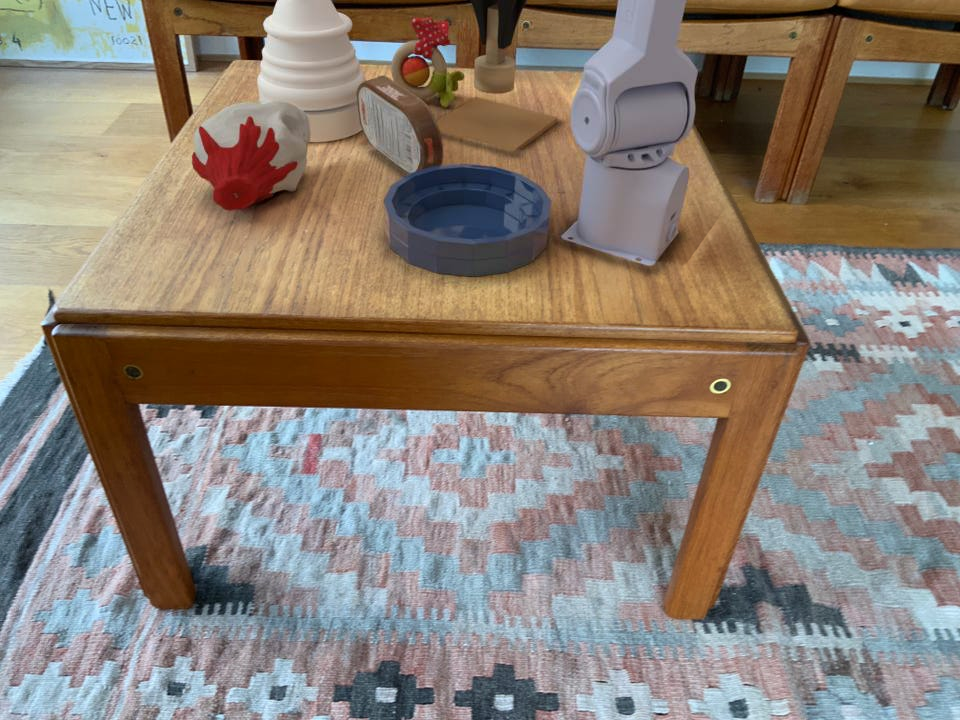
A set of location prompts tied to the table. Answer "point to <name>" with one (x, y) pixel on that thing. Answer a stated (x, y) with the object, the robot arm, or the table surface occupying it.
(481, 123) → the mat
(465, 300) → the table surface
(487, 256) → the bowl
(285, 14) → the honey pot
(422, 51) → the bird rattle
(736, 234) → the table surface
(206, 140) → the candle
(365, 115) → the tin
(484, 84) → the wooden peg on disc
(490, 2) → the robot arm
